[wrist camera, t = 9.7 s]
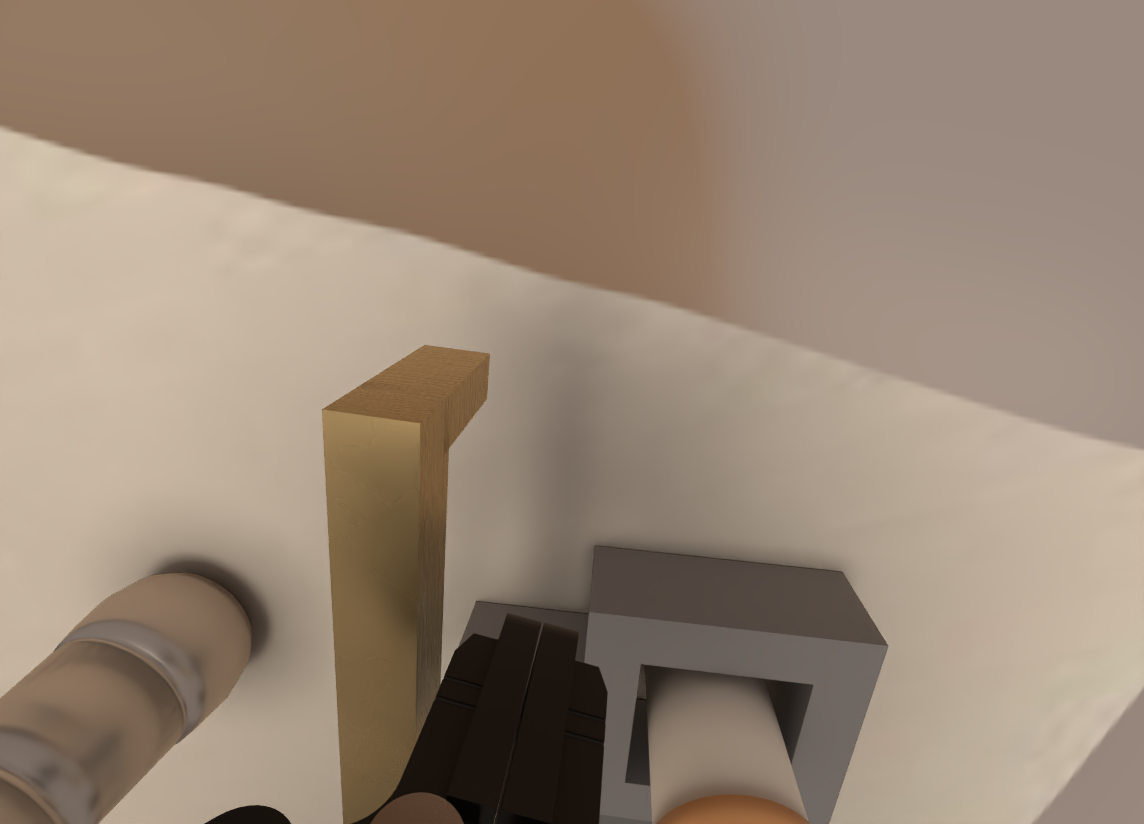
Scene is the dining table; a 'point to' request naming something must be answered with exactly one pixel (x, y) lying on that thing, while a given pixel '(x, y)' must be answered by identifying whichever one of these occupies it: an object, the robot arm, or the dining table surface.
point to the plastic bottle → (118, 697)
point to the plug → (717, 751)
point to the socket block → (721, 657)
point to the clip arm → (391, 556)
